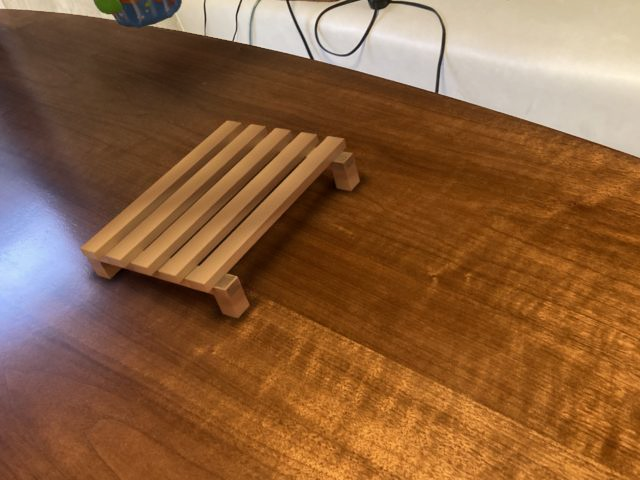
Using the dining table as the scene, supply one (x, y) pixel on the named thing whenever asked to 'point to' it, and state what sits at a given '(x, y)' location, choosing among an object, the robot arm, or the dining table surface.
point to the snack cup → (139, 11)
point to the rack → (216, 208)
